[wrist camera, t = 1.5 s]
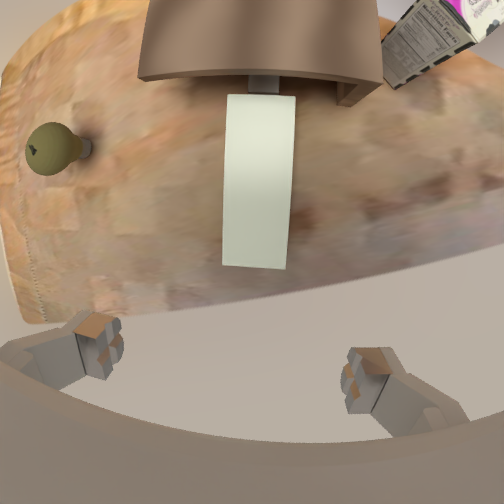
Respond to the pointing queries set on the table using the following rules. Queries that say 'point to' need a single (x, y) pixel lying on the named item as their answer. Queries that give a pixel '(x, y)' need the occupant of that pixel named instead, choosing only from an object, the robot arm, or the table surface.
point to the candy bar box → (436, 35)
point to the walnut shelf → (266, 43)
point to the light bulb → (54, 148)
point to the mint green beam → (257, 180)
